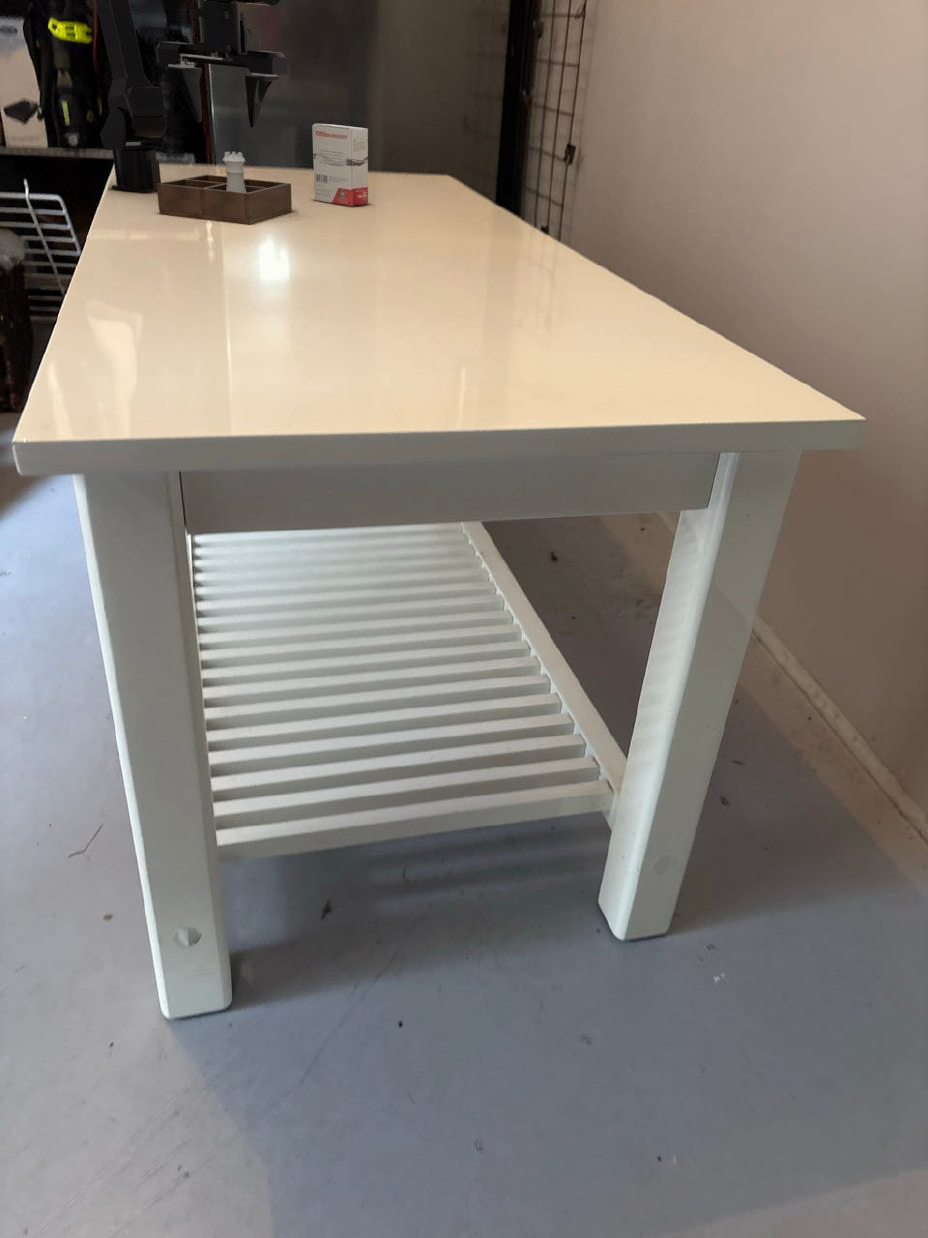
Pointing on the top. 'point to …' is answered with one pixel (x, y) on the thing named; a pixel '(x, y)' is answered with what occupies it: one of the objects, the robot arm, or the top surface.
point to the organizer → (224, 199)
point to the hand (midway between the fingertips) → (225, 124)
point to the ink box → (340, 164)
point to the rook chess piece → (235, 172)
